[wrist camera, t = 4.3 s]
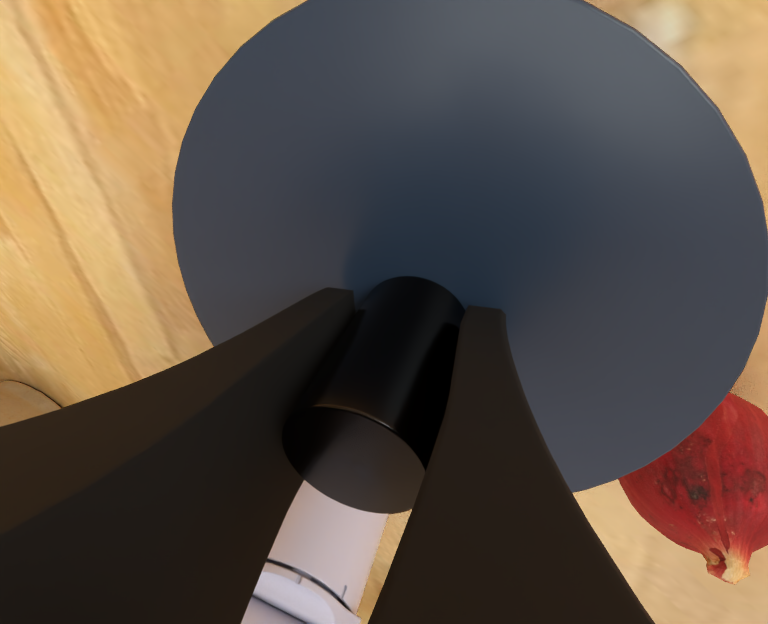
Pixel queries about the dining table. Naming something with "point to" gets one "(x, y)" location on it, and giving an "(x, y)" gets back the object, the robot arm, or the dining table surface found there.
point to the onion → (711, 489)
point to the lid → (475, 227)
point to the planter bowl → (22, 402)
